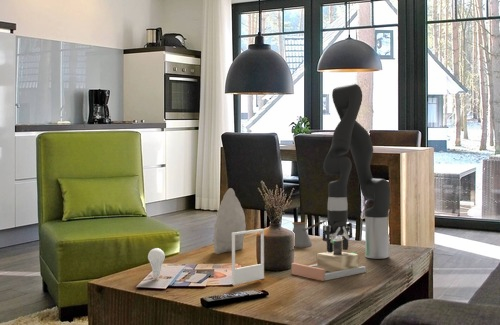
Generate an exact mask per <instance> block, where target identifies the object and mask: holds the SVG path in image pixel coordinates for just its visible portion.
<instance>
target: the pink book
mask: <svg viewBox="0 0 500 325" xmlns="http://www.w3.org/2000/svg"><path fill="white" fill-rule="evenodd" d="M364 273H367V266H363V265H361V266H358V267H356V268H351V269H346V270H341V271H336V272H329V271H325V269H321V268H317V263H316V264H310V265H306V264H301V263H297V262H291V275H294V276H295V275H296V276H299V277H304V278H309V279H311V280H312V279H313V280H317V281H322V282H324V281H330V280H334V279H339V278H342V277H343V278H344V277H348V276H353V275H357V274H364Z"/></svg>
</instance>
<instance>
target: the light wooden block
mask: <svg viewBox="0 0 500 325" xmlns="http://www.w3.org/2000/svg"><path fill="white" fill-rule="evenodd" d="M335 240H336V239H335ZM352 253H353V252H345V251H343V249H342V240H336V241H333V252H332V253H330V252H328V251H325V252H319V253H316V264H317V268H321V269H325V271H329V272H336V271H341V270H346V269H351V268H356V267H359V254H357V253H355V254H352Z"/></svg>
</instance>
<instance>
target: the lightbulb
mask: <svg viewBox="0 0 500 325" xmlns="http://www.w3.org/2000/svg"><path fill="white" fill-rule="evenodd" d="M165 258H166V254H165V252H164V250H162V249H161V248H159V247H155V248H152V249H151V250H149V252H148V255H147V259H148V262H149V264H150V267H151V270H152V277H153V278H155V277H156V278H155V279H158V278H160V277H161V271H162V265H163V263H164V261H165ZM157 277H158V278H157Z"/></svg>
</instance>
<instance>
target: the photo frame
mask: <svg viewBox="0 0 500 325" xmlns="http://www.w3.org/2000/svg"><path fill="white" fill-rule="evenodd" d="M259 232H260V263H259V264H252V265H247V266H242V267H237V268H236V250H235V235H238V234H251V233H252V234H253V233H259ZM263 279H265V229H264V228H258V229H250V230H246V231H242V232H234V233H232V251H231V285H233V286H235V285H240V284H243V283H244V284H245V283H249V282H254V281H258V280H263Z"/></svg>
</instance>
